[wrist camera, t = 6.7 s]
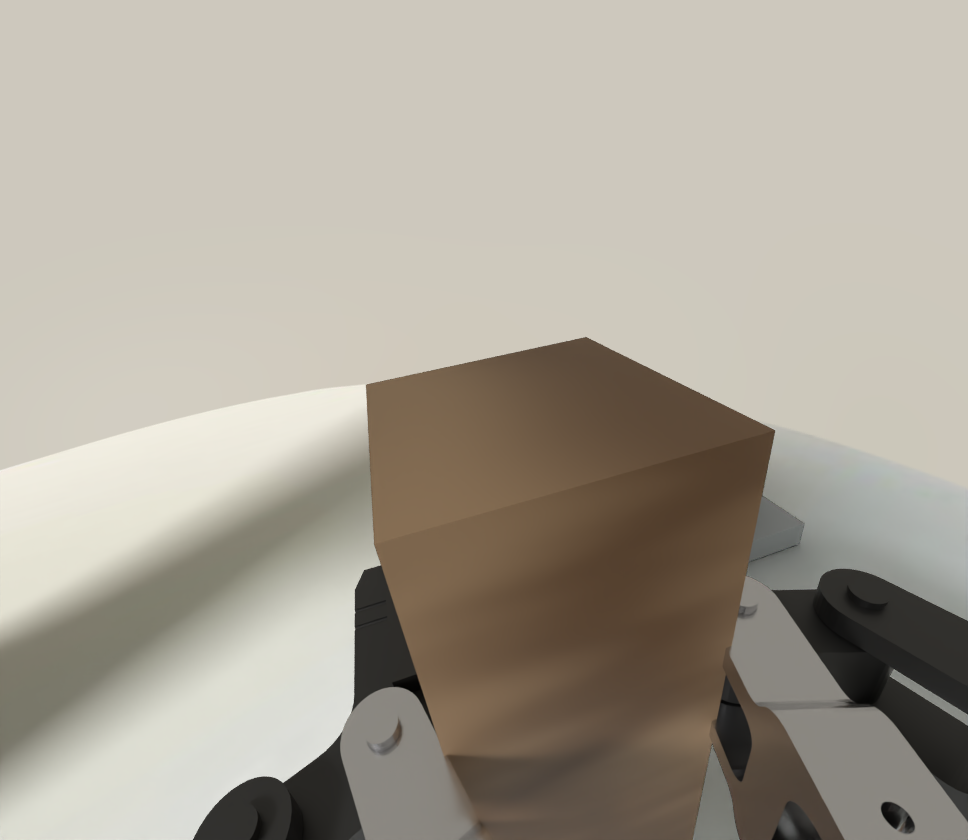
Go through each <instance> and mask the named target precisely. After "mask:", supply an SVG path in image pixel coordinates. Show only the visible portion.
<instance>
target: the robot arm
mask: <svg viewBox="0 0 968 840" xmlns="http://www.w3.org/2000/svg"><path fill="white" fill-rule="evenodd" d="M355 612H356V613H355V676H354V704H353V709H352V712H351V714H350V716H349V718H348V719H347V722H346V724H345V726H344V729H343V731H342V733H341V734H340V736H339V737H338V738H337V740H336V741H335V742H334V743H333V744H332V745H331V746H330V747H329V748H328V749H327V750H326V751H325V752H324V753H323V754H322V755H320V756H319V757H318V758H317V759H315V760H314V761H313V762H311V763H310V764H308V765H307V766H306V767H304V768H303V769H302V770H300V771H299V772H298V773H296V774H295V775H294V776H292V777H291V778H289V779H288V780H287V781H285V782H284V783H282V782H281V781H279V780H278V779H276V778H273V777H257V778H254V779H251V780H248V781H246V782H244V783H242V784H240V785H239V786H237V787H236V788H234V789H233V790H231V791H230V792H229V793H228V794H227V795H225V796H224V797H223V798H222V799H221V800H220V801H219V802H218V803H217V804H216V805H215V806H214V808H213V809H212V810H211V811H210V813H209V814H208V815H207V816H206V818H205V820H204V821H203V823H202V824H201V826H200V827H199V829H198V831H197V833H196V835H195V837H194V839H193V840H494V839H493V838H492V836H491V834H490V832H489V831H488V829H487V828H486V826H485V825H484V824H483V823H482V822H481V821H480V819H479V817H478V815H477V814H476V812H475V810H474V808H473V806H472V804H471V802H470V800H469V798H468V796H467V794H466V792H465V790H464V788H463V786H462V784H461V782H460V780H459V778H458V776H457V774H456V772H455V770H454V768H453V766H452V764H451V762H450V760H449V758H448V756H447V755H446V756H444V755H443V752H442V749H441V746H440V743H439V740H438V737H437V734H436V731H435V728H434V725H433V722H432V719H431V716H430V713H429V710H428V707H427V704H426V700H425V697H424V694H423V691H422V688H421V685H420V682H419V679H418V676H417V673H416V670H415V667H414V664H413V661H412V658H411V655H410V652H409V649H408V646H407V643H406V639H405V636H404V633H403V630H402V627H401V624H400V621H399V618H398V615H397V612H396V609H395V606H394V603H393V600H392V597H391V594H390V591H389V588H388V585H387V582H386V578H385V575H384V572H383V569H382V566H377V567H374V568H370V569H367V570H364V572H363V574H362V576H361V578H360V580H359V582H358V585H357V587H356V589H355ZM722 667H723V669H724V671H725V673H726V676H725V681H724V686H723V691H722V696H721V701H720V706H719V711H718V716H717V719H715V720H713V721H712V722H711V727H710V733H709V737H710V739H711V742H712V744H713V747H714V749H715V752H716V755H717V757H718V760H719V762H720V765H721V768H722V770H723V773H724V775H725V778H726V781H727V783H728V786H729V790H730V793H731V797H732V802H733V810H734V817H735V823H736V827H737V831H738V835H739V839H740V840H968V726H967V725H965V724H964V723H962V722H961V721H959V720H958V719H956V718H954V717H953V716H951V715H950V714H948V713H946V712H945V711H943V710H942V709H940V708H939V707H937V706H935V705H934V704H932V703H931V702H929V701H927V700H926V699H924V698H923V697H921V696H920V695H918V694H916V693H915V692H913V691H912V690H910V689H908V688H907V687H905V686H904V685H902V684H900V683H899V682H897V681H896V680H894V679H893V678H891V677H890V675H891V673H892V671H893V669H895V670H897V671H898V672H900V673H902V674H903V675H905V676H906V677H908V678H910V679H911V680H913V681H915V682H916V683H918V684H919V685H921V686H923V687H924V688H926V689H928V690H929V691H931V692H932V693H934V694H936V695H937V696H939V697H941V698H942V699H944V700H945V701H947V702H949V703H950V704H952V705H954V706H955V707H957V708H958V709H960V710H962V711H963V712H965V713H967V714H968V621H967V620H965V619H963V618H960V617H958V616H956V615H954V614H952V613H950V612H948V611H946V610H944V609H942V608H940V607H938V606H936V605H934V604H932V603H930V602H928V601H926V600H924V599H922V598H920V597H918V596H916V595H914V594H912V593H910V592H908V591H906V590H904V589H902V588H900V587H898V586H896V585H894V584H892V583H889V582H887V581H885V580H883V579H881V578H879V577H877V576H874V575H872V574H869V573H866V572H862V571H858V570H852V569H835V570H831V571H828V572H826V573H825V574H823V576H822V577H821V578H820V582H819V585H818V588H817V590H770V589H769V588H768V587H767V586H765V585H764V584H762V583H761V582H759V581H757V580H755V579H753V578H751V577H748V576H746V577H745V582H744V587H743V592H742V597H741V602H740V607H739V612H738V617H737V622H736V627H735V632H734V637H733V642H732V646H730V647H727V648H726V650H725V655H724V660H723V665H722Z"/></svg>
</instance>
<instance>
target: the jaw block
mask: <svg viewBox="0 0 968 840" xmlns="http://www.w3.org/2000/svg"><path fill="white" fill-rule="evenodd" d="M366 394H367V414H368V433H369V453H370V472H371V491H372V511H373V530H374V545H375V548H376V551H377V554H378V557H379V560H380V563H381V566H382V569H383V572H384V575H385V578H386V582H387V585H388V588H389V591H390V594H391V597H392V600H393V603H394V606H395V609H396V612H397V615H398V618H399V621H400V624H401V627H402V630H403V633H404V636H405V639H406V643H407V646H408V649H409V652H410V655H411V658H412V661H413V664H414V667H415V670H416V673H417V676H418V679H419V682H420V685H421V688H422V691H423V694H424V697H425V700H426V704H427V707H428V710H429V713H430V716H431V719H432V722H433V725H434V728H435V731H436V734H437V737H438V740H439V743H440V746H441V749H442V752H443V755H444V756H446V755H447V756H448V758H449V760H450V762H451V764H452V766H453V768H454V770H455V772H456V774H457V776H458V778H459V780H460V782H461V784H462V786H463V788H464V790H465V792H466V794H467V796H468V798H469V800H470V802H471V804H472V806H473V808H474V810H475V812H476V814H477V815H478V817H479V819H480V821H481V822H482V823H483V824H484V825H485V826H486V828H487V829H488V831H489V832H490V834H491V836H492V838H493V839H494V840H693V835H694V830H695V825H696V820H697V815H698V810H699V805H700V800H701V795H702V790H703V785H704V780H705V775H706V770H707V765H708V760H709V756H710V751H711V746H712V742H711V739H710V737H709V733H710V727H711V722H712V721H713V720H715V719H717V716H718V711H719V706H720V701H721V696H722V691H723V686H724V681H725V676H726V673H725V671H724V669H723V667H722V665H723V660H724V655H725V650H726V648H727V647H730V646H732V642H733V637H734V632H735V627H736V622H737V617H738V612H739V607H740V602H741V597H742V592H743V587H744V582H745V577H746V572H747V567H748V563H749V558H750V553H751V548H752V543H753V538H754V533H755V528H756V523H757V518H758V513H759V508H760V503H761V498H762V493H763V488H764V483H765V478H766V473H767V469H768V464H769V459H770V454H771V449H772V444H773V439H774V434H775V430H773V429H771V428H769V427H767V426H765V425H763V424H761V423H759V422H757V421H755V420H753V419H751V418H749V417H747V416H745V415H743V414H741V413H739V412H737V411H734V410H733V409H730V408H729V407H727V406H725V405H722V404H721V403H718V402H717V401H714V400H712V399H710V398H708V397H706V396H704V395H702V394H700V393H698V392H696V391H694V390H692V389H690V388H688V387H686V386H684V385H682V384H680V383H678V382H676V381H674V380H672V379H670V378H668V377H666V376H663V375H661V374H660V373H658V372H656V371H654V370H652V369H650V368H648V367H646V366H643V365H641V364H639V363H637V362H635V361H633V360H631V359H629V358H627V357H625V356H623V355H621V354H619V353H617V352H615V351H613V350H611V349H609V348H607V347H605V346H603V345H601V344H599V343H597V342H595V341H593V340H591V339H589V338H587V337H585V338H580V339H575V340H571V341H566V342H562V343H557V344H552V345H548V346H543V347H538V348H534V349H529V350H525V351H520V352H515V353H511V354H506V355H501V356H497V357H492V358H487V359H483V360H478V361H474V362H469V363H464V364H459V365H455V366H450V367H446V368H441V369H436V370H432V371H427V372H423V373H418V374H413V375H409V376H404V377H399V378H395V379H390V380H385V381H381V382H376V383H371V384H367V385H366Z"/></svg>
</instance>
